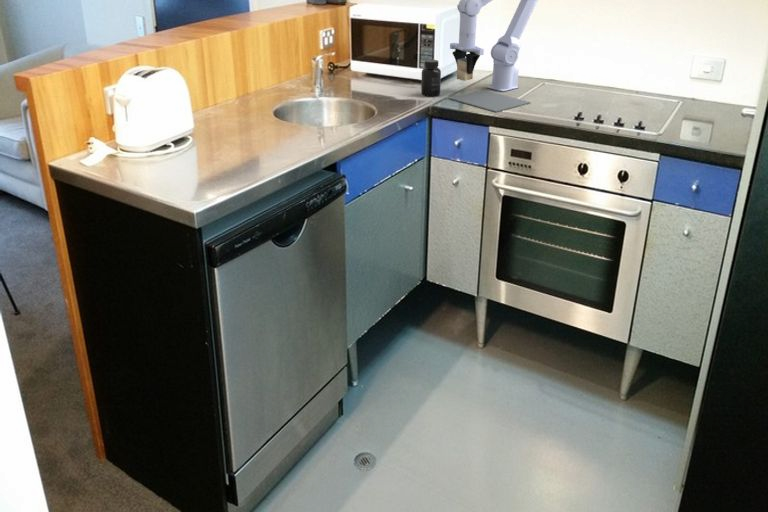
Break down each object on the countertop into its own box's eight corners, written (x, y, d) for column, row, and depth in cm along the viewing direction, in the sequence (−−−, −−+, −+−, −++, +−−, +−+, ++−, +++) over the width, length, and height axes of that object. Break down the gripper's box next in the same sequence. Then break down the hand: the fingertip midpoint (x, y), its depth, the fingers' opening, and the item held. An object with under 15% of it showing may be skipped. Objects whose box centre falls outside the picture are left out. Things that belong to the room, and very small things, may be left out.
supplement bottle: (440, 92, 258) (441, 59, 252) (439, 97, 252) (441, 63, 246) (421, 91, 258) (422, 58, 253) (420, 96, 252) (421, 62, 247)
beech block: (464, 77, 259) (465, 57, 256) (472, 79, 256) (473, 59, 253) (456, 78, 257) (457, 59, 253) (464, 80, 254) (465, 61, 251)
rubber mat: (482, 90, 261) (482, 89, 261) (530, 103, 246) (530, 102, 246) (448, 98, 250) (448, 97, 250) (496, 112, 236) (496, 111, 235)
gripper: (444, 31, 252) (443, 70, 258) (475, 37, 242) (472, 77, 248) (458, 29, 256) (456, 67, 262) (488, 35, 246) (486, 74, 252)
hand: (465, 72), depth 255 cm, fingers closed on beech block, 4 cm apart
